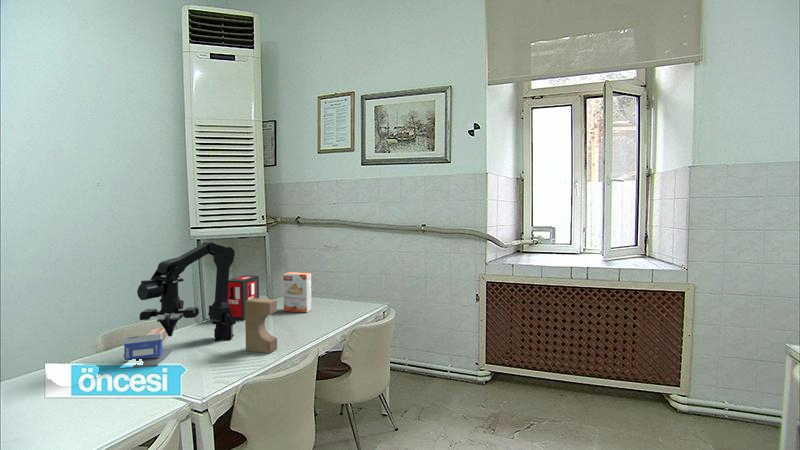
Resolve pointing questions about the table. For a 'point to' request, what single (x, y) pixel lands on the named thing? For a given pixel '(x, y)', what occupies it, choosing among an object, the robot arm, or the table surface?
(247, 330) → the decorative block
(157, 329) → the packaged product
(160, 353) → the walkman
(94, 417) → the table surface
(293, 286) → the cracker box
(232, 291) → the cleaning product box
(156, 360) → the mat
